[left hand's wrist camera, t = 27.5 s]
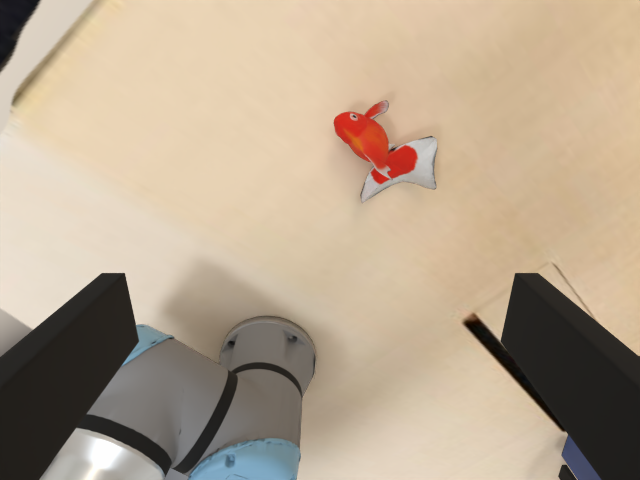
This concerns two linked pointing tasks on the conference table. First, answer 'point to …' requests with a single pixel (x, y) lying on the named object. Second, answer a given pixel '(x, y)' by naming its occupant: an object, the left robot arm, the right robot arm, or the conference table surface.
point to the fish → (386, 152)
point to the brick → (578, 462)
